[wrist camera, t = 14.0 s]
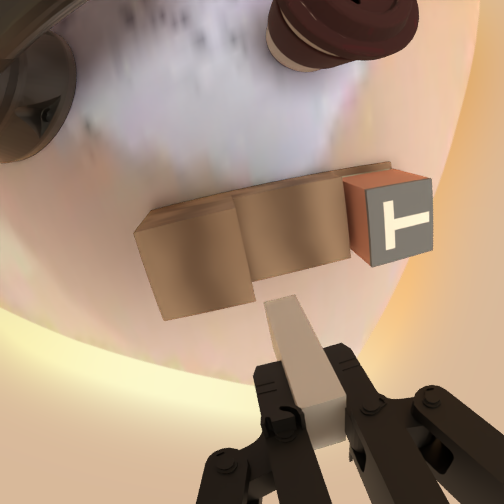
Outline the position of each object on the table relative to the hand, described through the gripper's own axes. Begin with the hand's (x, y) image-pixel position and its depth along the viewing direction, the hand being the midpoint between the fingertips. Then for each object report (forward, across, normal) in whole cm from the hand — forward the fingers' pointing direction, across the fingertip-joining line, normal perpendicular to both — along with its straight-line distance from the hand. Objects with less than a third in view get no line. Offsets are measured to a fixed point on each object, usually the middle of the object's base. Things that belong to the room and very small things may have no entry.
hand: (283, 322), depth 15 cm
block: (+11, +13, -1) cm, 17 cm away
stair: (+18, +4, -1) cm, 19 cm away
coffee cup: (+19, +9, +17) cm, 27 cm away
